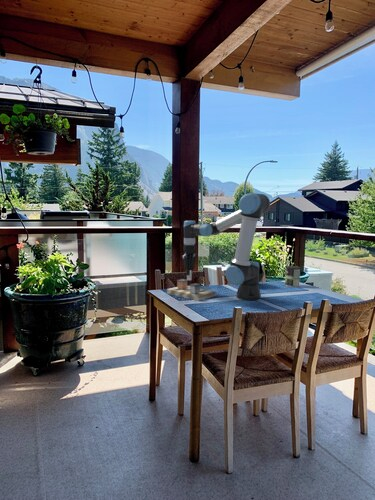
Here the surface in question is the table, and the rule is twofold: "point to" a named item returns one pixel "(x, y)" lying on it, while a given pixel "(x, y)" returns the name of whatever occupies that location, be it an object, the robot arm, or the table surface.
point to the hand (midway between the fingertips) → (189, 280)
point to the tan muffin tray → (186, 293)
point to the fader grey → (195, 288)
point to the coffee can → (292, 276)
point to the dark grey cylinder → (259, 270)
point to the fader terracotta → (182, 284)
